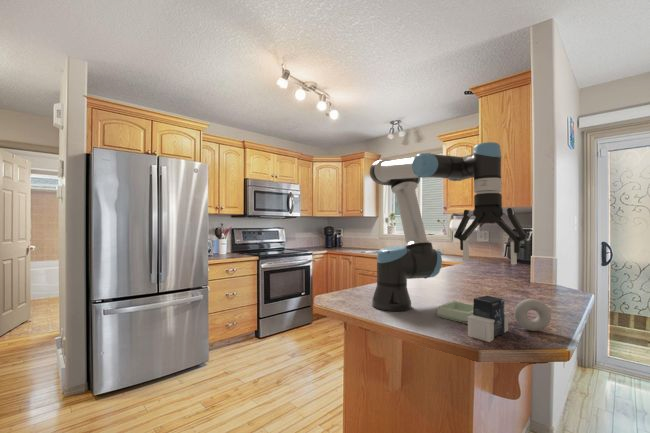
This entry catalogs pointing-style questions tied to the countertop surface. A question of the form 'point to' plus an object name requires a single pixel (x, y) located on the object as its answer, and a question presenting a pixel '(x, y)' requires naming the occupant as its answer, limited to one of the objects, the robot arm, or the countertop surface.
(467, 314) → the tray
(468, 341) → the countertop surface
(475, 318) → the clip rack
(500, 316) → the box
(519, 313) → the donut
